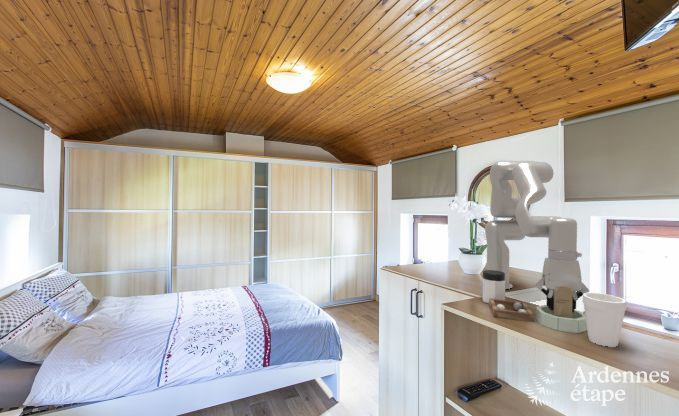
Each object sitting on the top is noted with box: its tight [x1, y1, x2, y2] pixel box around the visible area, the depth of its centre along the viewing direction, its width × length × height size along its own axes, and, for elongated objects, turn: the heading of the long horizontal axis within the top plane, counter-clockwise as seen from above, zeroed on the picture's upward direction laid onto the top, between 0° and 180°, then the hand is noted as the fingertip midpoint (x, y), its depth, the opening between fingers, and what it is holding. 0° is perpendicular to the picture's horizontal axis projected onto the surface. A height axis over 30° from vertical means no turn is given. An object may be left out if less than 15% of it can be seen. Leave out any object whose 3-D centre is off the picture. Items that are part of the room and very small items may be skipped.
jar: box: [481, 269, 506, 304], centre depth 122 cm, size 9×8×12 cm
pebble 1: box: [496, 304, 506, 310], centre depth 110 cm, size 3×3×3 cm
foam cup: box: [582, 292, 627, 348], centre depth 87 cm, size 10×9×13 cm
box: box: [550, 286, 573, 318], centre depth 100 cm, size 5×4×11 cm
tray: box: [488, 299, 535, 322], centre depth 110 cm, size 13×12×2 cm
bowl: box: [535, 304, 588, 334], centre depth 100 cm, size 13×13×4 cm
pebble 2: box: [513, 301, 523, 311], centre depth 112 cm, size 3×3×3 cm
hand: (560, 309), depth 100 cm, fingers closed on box, 5 cm apart
